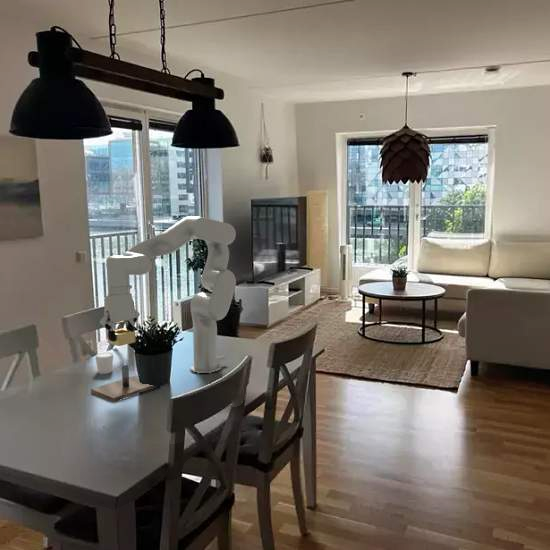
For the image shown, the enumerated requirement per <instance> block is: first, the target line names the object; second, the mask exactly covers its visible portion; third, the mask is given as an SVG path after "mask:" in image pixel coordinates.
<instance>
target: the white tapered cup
mask: <svg viewBox="0 0 550 550" xmlns="http://www.w3.org/2000/svg"><path fill="white" fill-rule="evenodd" d="M95 361H96V362H95V363H96V369H97V374H101V375H107V374H111V373H112V372H113V365H114V354H113V353H112V352H100V353H97V354H95Z"/></svg>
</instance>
